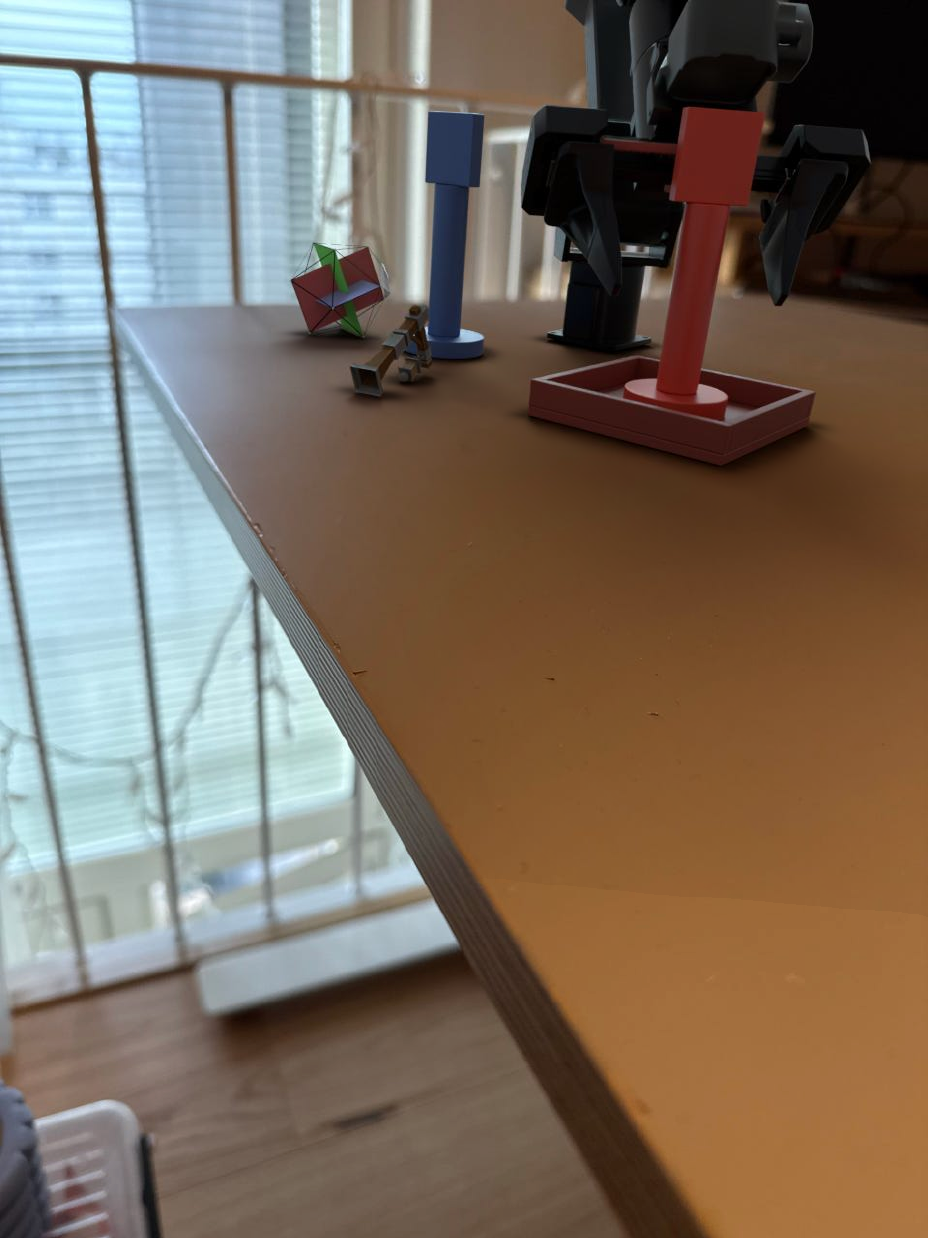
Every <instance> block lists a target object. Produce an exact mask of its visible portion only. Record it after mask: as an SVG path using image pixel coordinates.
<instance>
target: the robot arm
mask: <svg viewBox="0 0 928 1238" xmlns="http://www.w3.org/2000/svg"><path fill="white" fill-rule="evenodd" d="M563 2H564V3H563V4H564V9H565V10H566V11H567V12H568V13H569V14H570V15H571V16H572V17H573V18H574V19H575V20H576V21H577V22H578V23H579V24H580V25H582V27H584V48H585V73H586V95H587V97H586V98H587V99H586V100H587V107H583V106H582V107H580V106H569V105H554V104H544V105H542V106H541V107H540V108H539V109H537V110H536V112H534V114H533V115H532V117H531V122H530V127H529V133H528V136H527V137H528V138H527V143H526V147H525V153H524V158H523V159H524V160H523V163H522V168H521V169H522V170H521V181H520V208H521V209H522V210H523V211H524V212H525V213H526V214H527V215H528V216H533V217H534V216H535V217H543V222H544V224H545V225H547V226H549V227H552V228H555V231H554V248H553V256H554V258H556V259H557V260H558V261H560V262H561V263H568V262H570V269H569V278H568V283H567V285H566V286H567V287H566V295H565V305H564V313H563V322H562V329H555V330H549V331H547V332H546V339H550V340H555V341H560V342H564V343H570V344H574V345H579V346H583V347H589V348H594V349H599V350H604V351H609V352H617V351H621V350H622V351H623V350H626V349H631V348H636V347H640V346H645V345H650V344H652V339H653V338H652V337H651V336H647V335H642V334H636V333H637V328H638V327H637V326H638V322H639V321H638V320H639V314H640V306H641V300H642V299H641V298H642V294H643V293H642V292H643V286H644V278H645V272H646V267H653V268H654V267H655V268H659V269H663V270H667V269H668V268H670V267H671V263H672V258H673V253H674V250H675V245H676V241H677V238H678V234H679V231H680V229H681V226H682V219H683V213H684V207H685V203H686V202H675V201H671V200H669V197H670V190H671V184H672V177H673V171H674V164H675V158H676V151H677V145H678V138H679V132H680V125H681V119H682V112H683V108H684V107H700V108H713V109H725V110H738V111H750V112H759V111H758V104H757V96H758V94H759V92H760V91H761V90H762V88H763V87H764V86H765V85H766V83H767V82H771V83H772V82H773V83H786V84H791V83H792V82H793V81H794V80H795V79H796V78H797V76H798V75H799V73H800V72H801V71H802V70H803V68H804V67H805V66H806V65H807V64H808V62H809V60H810V58H811V54H812V51H813V41H814V24H813V19H812V15H811V12H810V9H809V8H810V7H809V5H808V4H807V3H797V2H786V1H778V0H563ZM871 165H872V163H871V156H870V150H869V144H868V140H867V137H866V135H865V132H864V130H863V129H861V128H860V129H859V128H847V127H834V126H822V125H809V124H795V125H794V126H793V128H792V130H791V131H790V133H789V135H788V138H787V139H786V141H785V143H784V145H783V147H782V149H781V151H780V153H779V155H778V156H776V155H765V154H764V155H763V154H757V160H756V165H755V170H754V176H753V181H752V186H751V191H750V197H749V199H753V200H760V203H759V210H760V219H761V222H762V223H763V224H764V225H763V227H762V229H761V231H760V233H759V235H758V239H759V243H760V250H761V255H762V260H763V266H764V267H763V268H764V272H765V279H766V283H767V284H766V285H767V290H768V293H769V296H770V298H771V301H772V303H773V306H775V307H783V305H784V303H785V302H786V300H787V299H788V298H789V295H790V292H791V289H792V285H793V282H794V278H795V274H796V270H797V267H798V263H799V260H800V256H801V253H802V249H803V246H804V243H805V242H807V241H809V240H810V239H811V238H812V237H813V236H817V235H820V234H821V233H825V232H826V231H828V230H830V228H831V227H832V226H833V224H834V223H835V221H836V219H837V218H838V216H839V215H840V213H841V211H842V210H843V209H844V207H845V205H846V204H847V203H848V201H849V200H850V198H851V196H852V195H853V193H854V192H855V190H856V188H857V187H858V185H859V184H860V182H861V181H862V179H863V178H864V176H865V175H866V173H867V172H868V171H869V168H870V167H871ZM572 243H573V245H574V246H575V247H571V245H572ZM621 246H626V247H627V246H628V247H629V246H631V247H642V248H648V252H640V251H628V250H621Z"/></svg>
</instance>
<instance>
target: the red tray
mask: <svg viewBox="0 0 928 1238" xmlns="http://www.w3.org/2000/svg"><path fill="white" fill-rule="evenodd" d="M659 363H660V358H659V359H658V358H654V357H650V356H649V357H648V356H643V355H640V354H635V355H630V356H626V357H622V358H618V359H614V360H609V361H605V362H600V363H596V364H591V365H588V366H587V365H586V366H583V367H578V368H574V369H571V370H565V371H561V372H557V373H553V374H549V375H545V376H540V377H535V378H532V379H530V386H529V397H528V407H527V415H528V417H529V416H530V417H533V418H536V419H541V420H545V421H549V422H552V423H555V424H559V425H564V426H568V427H570V428H575V429H577V430H578V429H579V430H583V431H586V432H590V433H594V434H598V435H601V436H605V437H609V438H612V439H617V440H621V441H625V442H627V443H628V442H629V443H631V444H635V445H639V446H644V447H648V448H651V449H655V450H659V451H662V452H666V453H669V454H674V455H677V456H681V457H685V458H689V459H692V460H696V461H700V462H704V463H707V464H711V465H714V466H715V465H716V466H719V467H722V466H724V465H726V464H728V463H731V462H733V461H735V460H738V459H739V458H742V457H744V456H746V455H749V454H751V453H753V452H754V451H757V450H759V449H761V448H763V447H766V446H768V445H770V444H772V443H774V442H776V441H778V440H781V439H783V438H785V437H787V436H790V435H791V434H794V433H796V432H798V431H800V430H802V429H804V428H806V427H808V426H809V423H810V419H811V418H810V417H811V415H812V410H813V406H814V401H815V398H816V394H817V392H816V391H814V390H809V389H804V388H800V387H795V386H791V385H785V384H780V383H775V382H770V381H766V380H761V379H755V378H752V377H746V376H741V375H736V374H731V373H726V372H721V371H717V370H712V369H707V368H703V367H702V368H701V374H700V379H699V384H702V385H706V386H710V387H713V388H716V389H718V390H720V391H722V392H724V393H726V394H727V396H728V402H727V407H726V412H725V417H724V418H723V419H722V420H721V421H717V420H713V419H709V418H704V417H700V416H696V415H692V414H687V413H683V412H679V411H675V410H671V409H666V408H662V407H658V406H654V405H649V404H645V403H641V402H637V401H632V400H628V399H624V398H623V393H624V386H625V384H626V383H628V382H630V381H633V380H639V379H657V375H658V369H659Z"/></svg>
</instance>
